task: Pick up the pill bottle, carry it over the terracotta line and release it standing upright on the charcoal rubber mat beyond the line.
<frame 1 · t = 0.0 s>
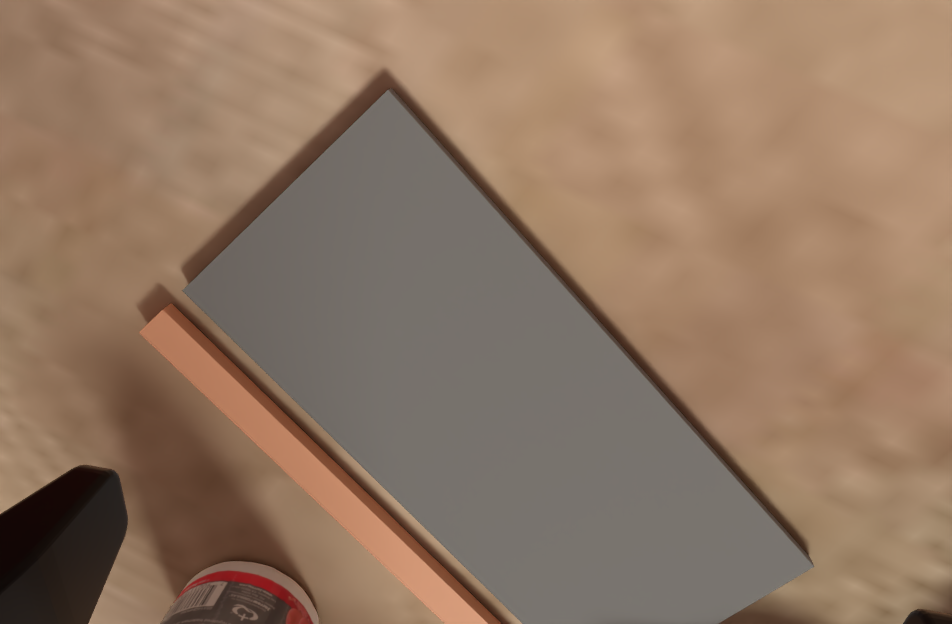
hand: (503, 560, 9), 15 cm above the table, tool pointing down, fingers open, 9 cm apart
pill bottle: (254, 612, 30), on the table
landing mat: (506, 424, 26), on the table
throw line: (376, 523, 28), on the table
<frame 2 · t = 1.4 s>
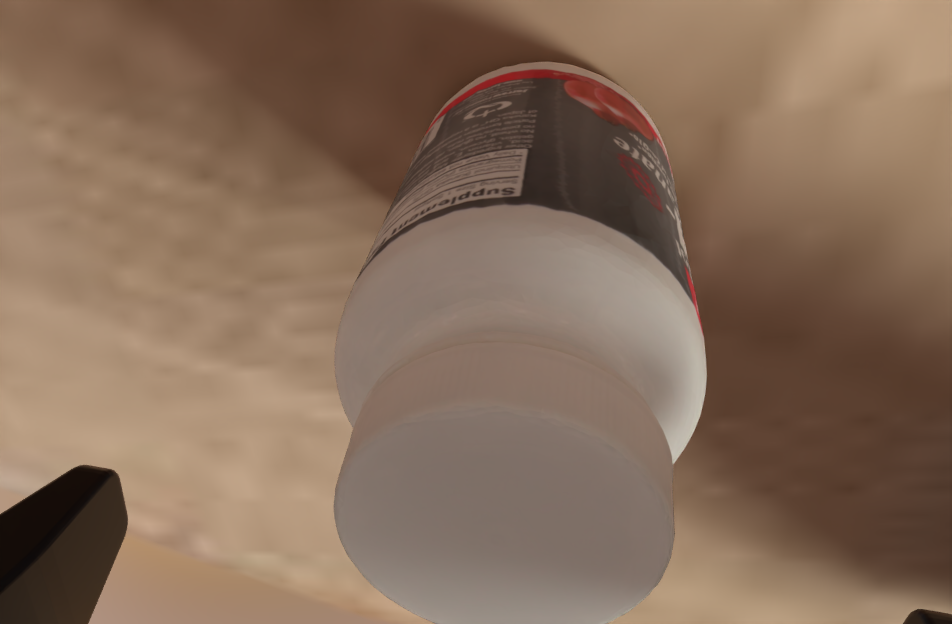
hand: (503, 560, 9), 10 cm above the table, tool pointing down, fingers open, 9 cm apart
pill bottle: (542, 175, 17), on the table
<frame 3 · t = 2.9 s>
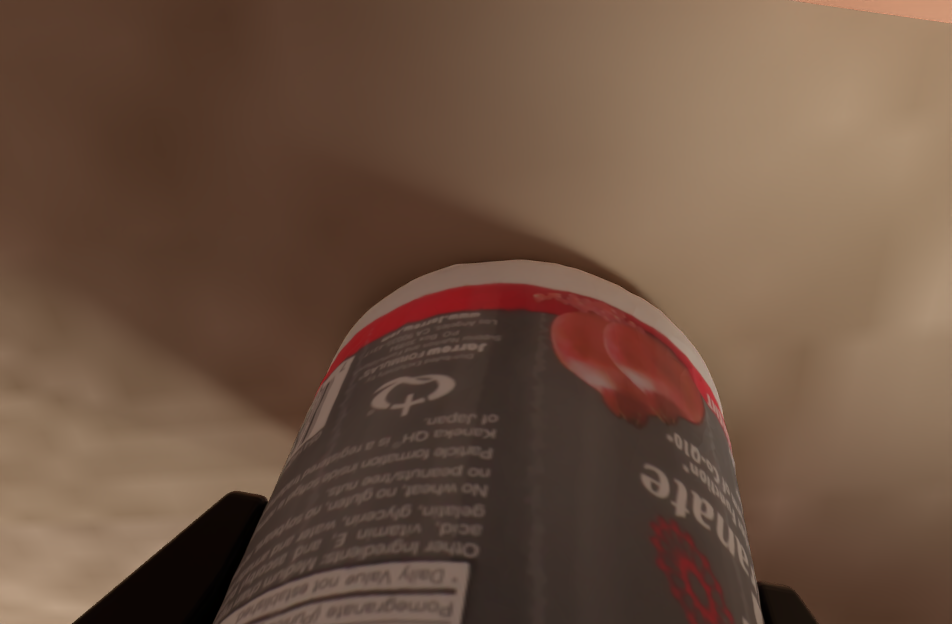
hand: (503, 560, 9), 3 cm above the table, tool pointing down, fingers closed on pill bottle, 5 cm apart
pill bottle: (521, 402, 11), on the table, touching gripper
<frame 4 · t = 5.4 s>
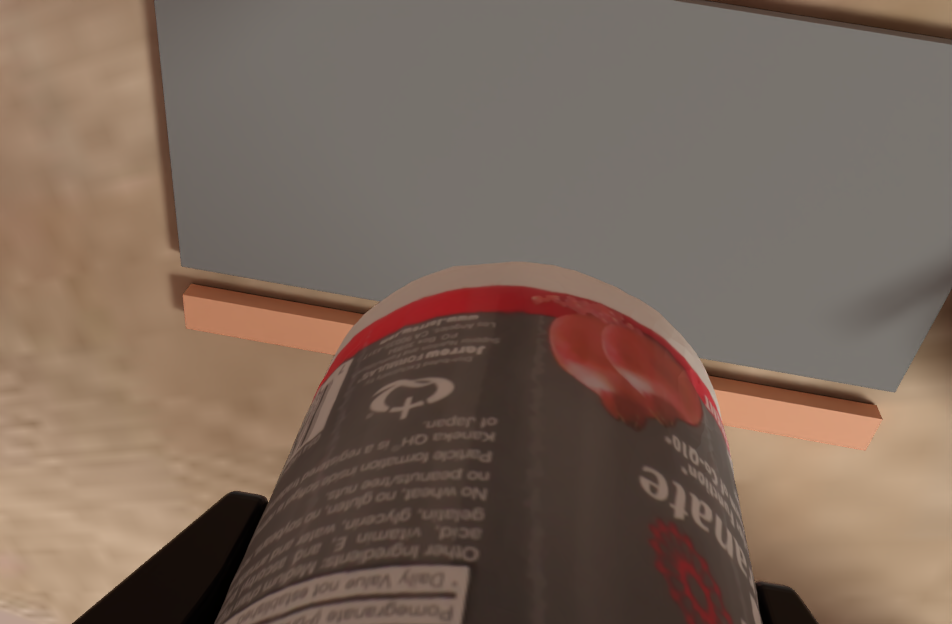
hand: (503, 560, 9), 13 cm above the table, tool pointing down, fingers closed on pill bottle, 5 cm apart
pill bottle: (519, 403, 11), point 10 cm above the table, touching gripper
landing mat: (561, 172, 20), on the table
throw line: (524, 359, 23), on the table
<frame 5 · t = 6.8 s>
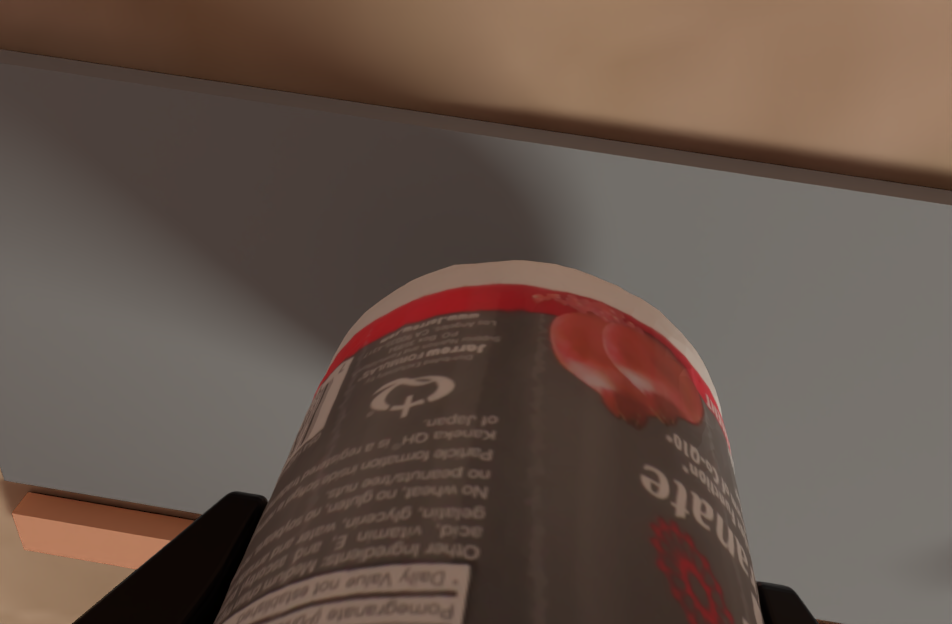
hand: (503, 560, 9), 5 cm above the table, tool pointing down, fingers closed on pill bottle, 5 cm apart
pill bottle: (520, 402, 11), point 2 cm above the table, touching gripper
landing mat: (515, 375, 14), on the table
throw line: (478, 587, 17), on the table
when the fingers open (4 cm above the table, at t = 7.7 s): pill bottle drops 1 cm, resting on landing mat.
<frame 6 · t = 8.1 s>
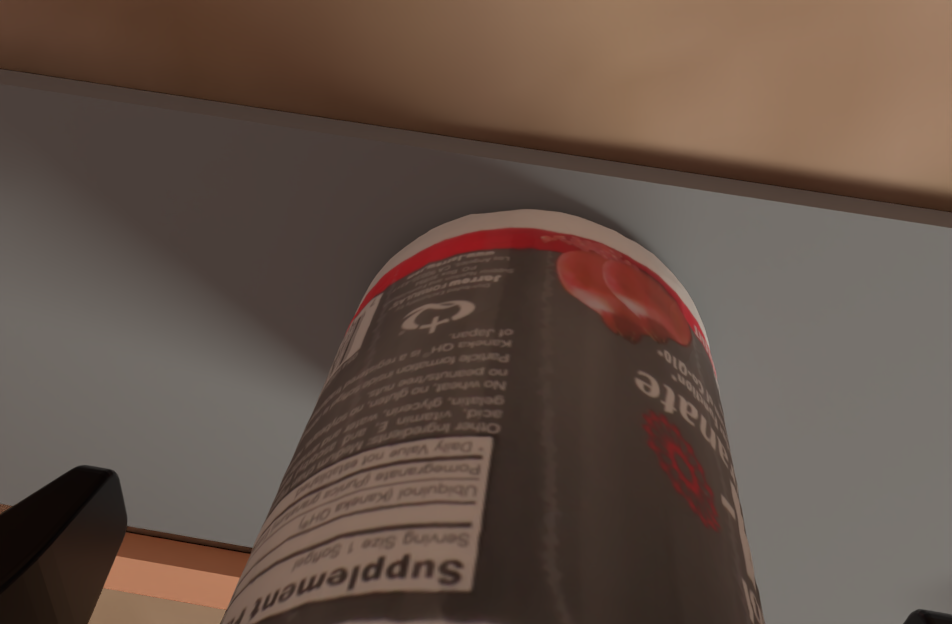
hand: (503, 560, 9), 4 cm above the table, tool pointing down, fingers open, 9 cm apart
pill bottle: (528, 344, 13), resting on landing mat
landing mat: (516, 399, 14), on the table
throw line: (478, 611, 17), on the table
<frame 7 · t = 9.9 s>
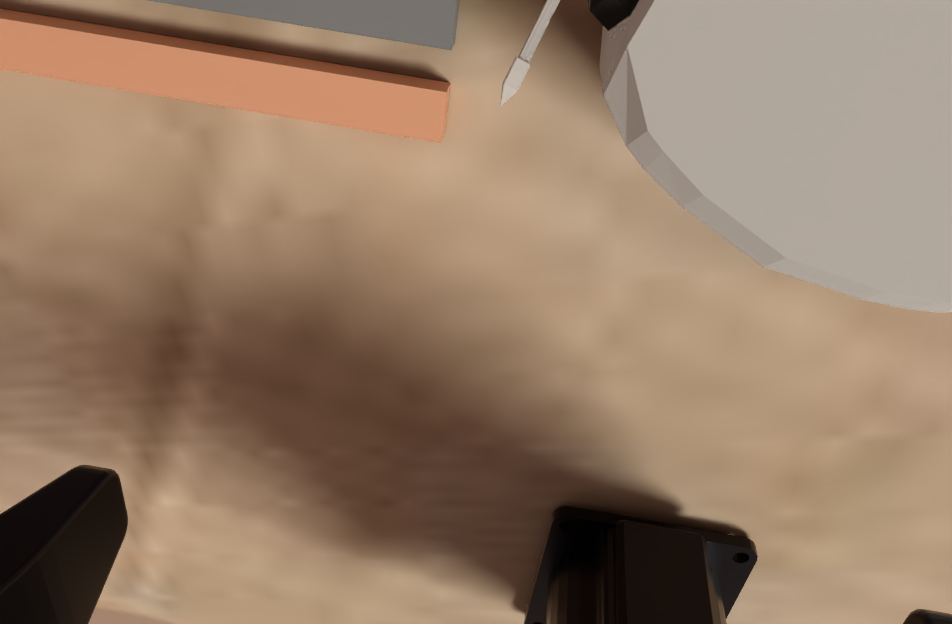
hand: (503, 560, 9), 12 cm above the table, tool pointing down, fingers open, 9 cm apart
throw line: (25, 38, 19), on the table
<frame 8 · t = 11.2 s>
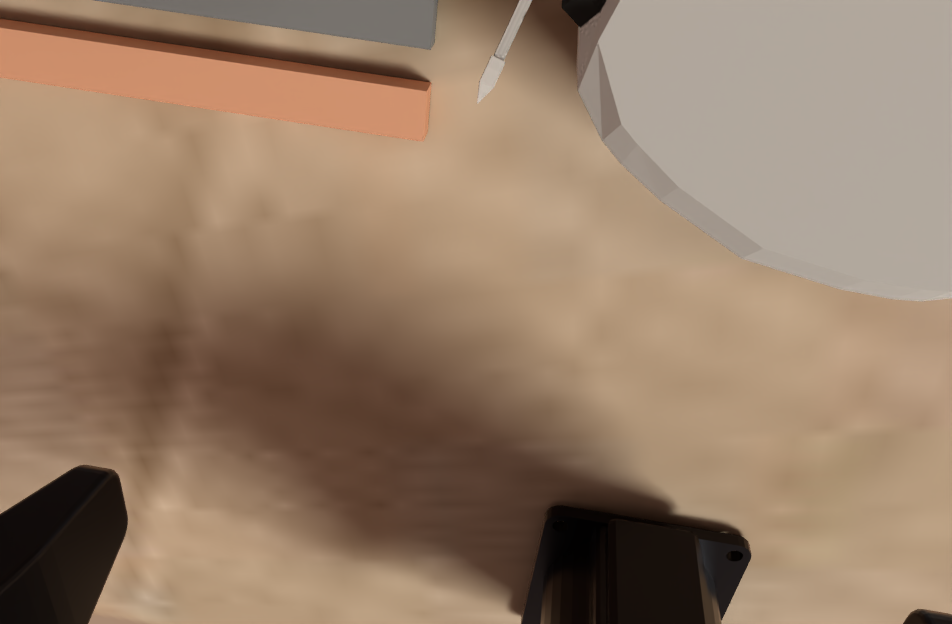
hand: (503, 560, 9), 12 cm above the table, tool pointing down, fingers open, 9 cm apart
throw line: (17, 45, 19), on the table
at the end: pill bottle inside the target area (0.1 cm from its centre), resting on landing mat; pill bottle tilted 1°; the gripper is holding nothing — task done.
